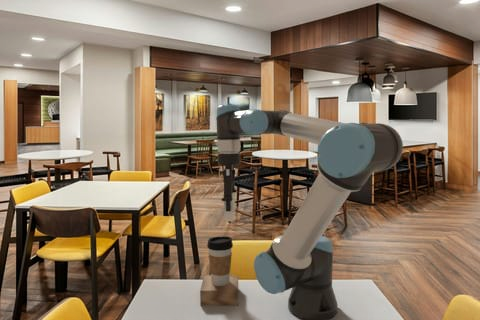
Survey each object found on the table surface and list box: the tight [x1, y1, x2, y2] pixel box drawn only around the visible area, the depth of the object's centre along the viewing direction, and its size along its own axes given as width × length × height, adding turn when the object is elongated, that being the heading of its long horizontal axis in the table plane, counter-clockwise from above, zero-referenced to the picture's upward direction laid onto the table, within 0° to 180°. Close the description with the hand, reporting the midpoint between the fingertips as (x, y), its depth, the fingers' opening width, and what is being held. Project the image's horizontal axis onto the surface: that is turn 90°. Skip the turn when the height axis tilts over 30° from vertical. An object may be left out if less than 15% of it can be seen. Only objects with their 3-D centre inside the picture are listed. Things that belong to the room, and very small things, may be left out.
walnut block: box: [199, 274, 239, 307], centre depth 125 cm, size 12×12×5 cm
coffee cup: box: [206, 236, 234, 286], centre depth 124 cm, size 8×8×15 cm
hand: (230, 216), depth 125 cm, fingers open, 13 cm apart
